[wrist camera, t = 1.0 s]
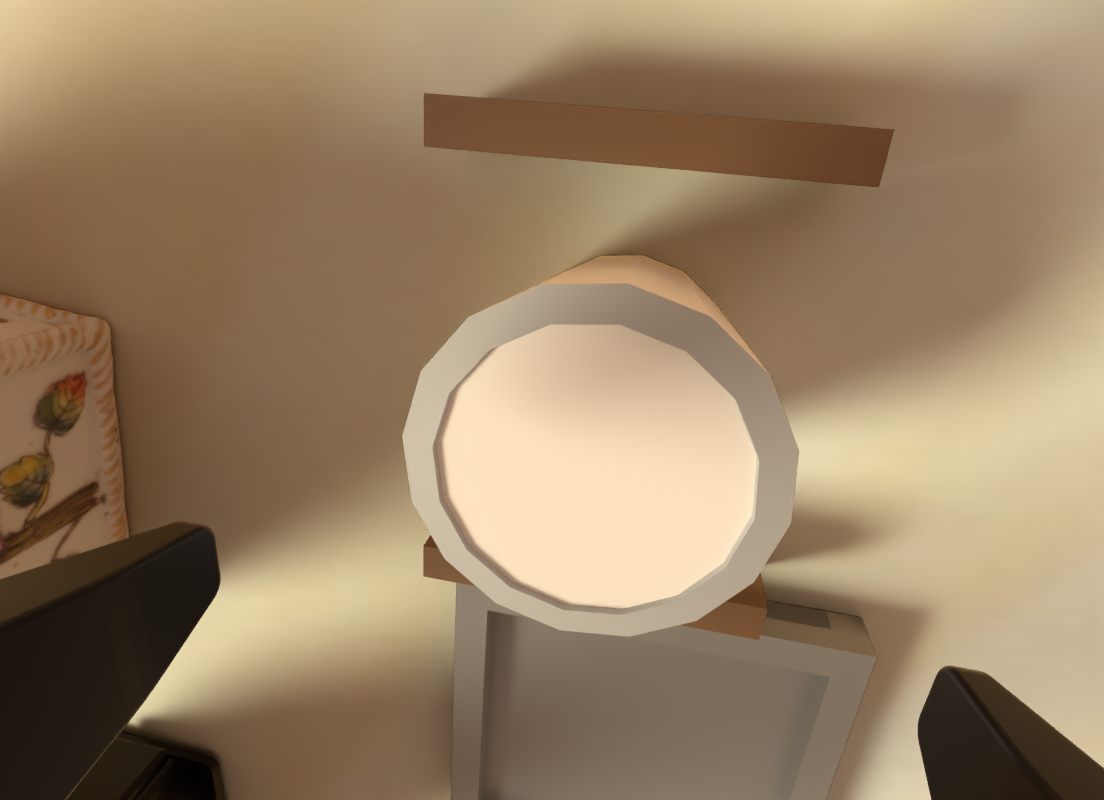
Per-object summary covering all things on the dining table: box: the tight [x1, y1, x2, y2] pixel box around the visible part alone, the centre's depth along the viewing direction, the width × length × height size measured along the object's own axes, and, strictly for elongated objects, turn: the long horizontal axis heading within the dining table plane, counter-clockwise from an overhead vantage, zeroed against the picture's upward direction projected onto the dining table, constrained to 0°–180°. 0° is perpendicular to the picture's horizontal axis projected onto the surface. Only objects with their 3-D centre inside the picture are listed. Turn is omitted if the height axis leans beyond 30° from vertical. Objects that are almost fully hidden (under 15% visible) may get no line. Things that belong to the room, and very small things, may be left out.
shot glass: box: [402, 255, 799, 637], centre depth 14 cm, size 7×7×7 cm
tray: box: [451, 583, 877, 800], centre depth 21 cm, size 12×12×2 cm
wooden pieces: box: [424, 93, 894, 640], centre depth 16 cm, size 12×9×3 cm
